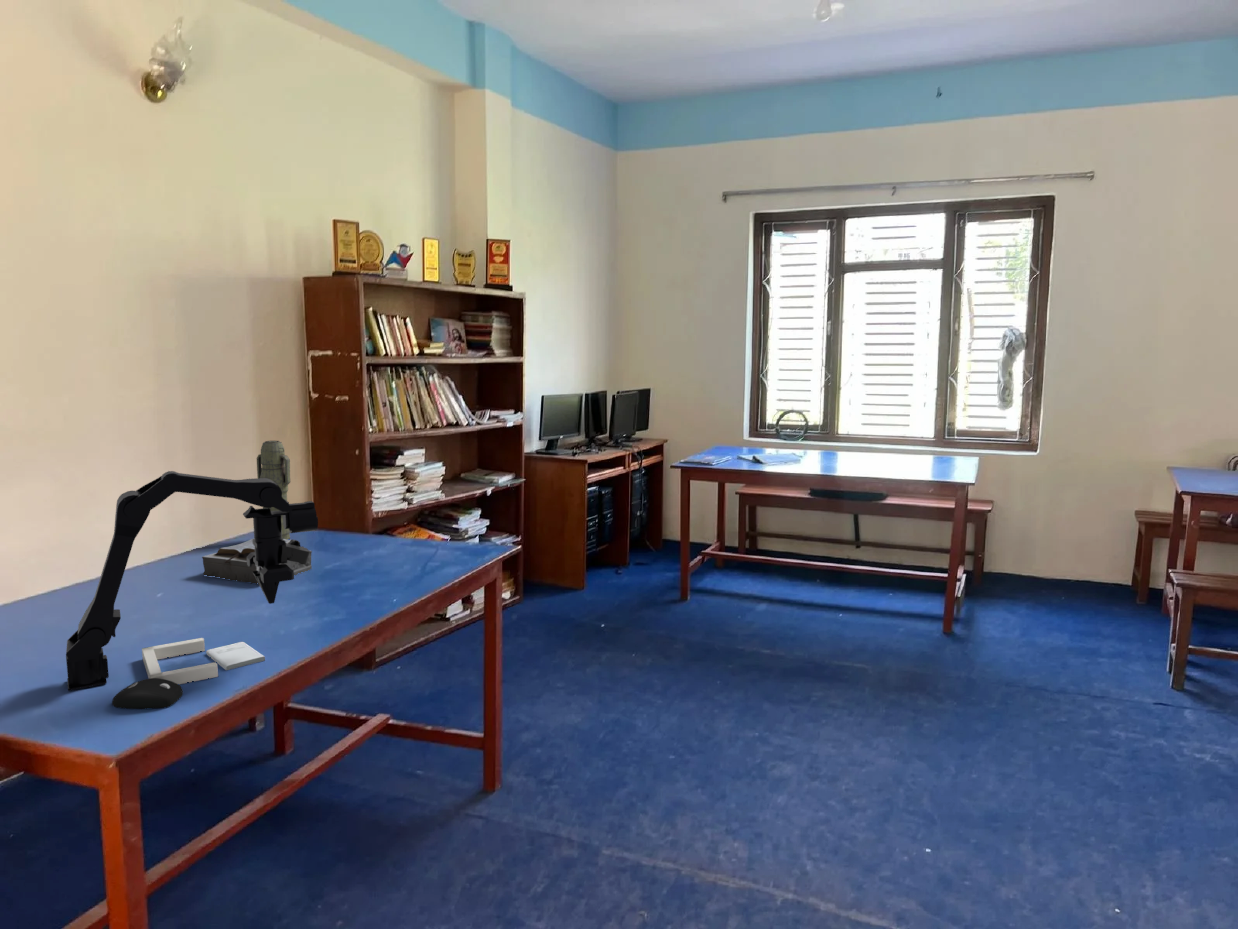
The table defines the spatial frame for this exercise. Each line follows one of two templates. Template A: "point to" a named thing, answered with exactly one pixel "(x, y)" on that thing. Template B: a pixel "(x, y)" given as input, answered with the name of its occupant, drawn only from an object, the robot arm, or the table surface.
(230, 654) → the external hard drive
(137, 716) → the table surface
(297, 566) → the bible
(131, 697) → the computer mouse
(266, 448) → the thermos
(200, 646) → the dock
